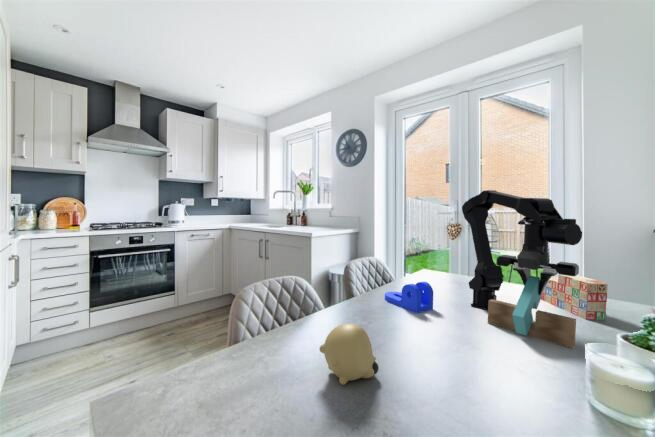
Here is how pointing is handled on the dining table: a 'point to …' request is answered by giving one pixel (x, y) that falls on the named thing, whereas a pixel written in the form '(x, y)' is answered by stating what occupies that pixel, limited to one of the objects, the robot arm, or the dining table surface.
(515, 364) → the dining table surface
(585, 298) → the stack of blocks
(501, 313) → the walnut slotted board
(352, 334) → the toy pig
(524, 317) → the teal slotted plate
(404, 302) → the bracket
